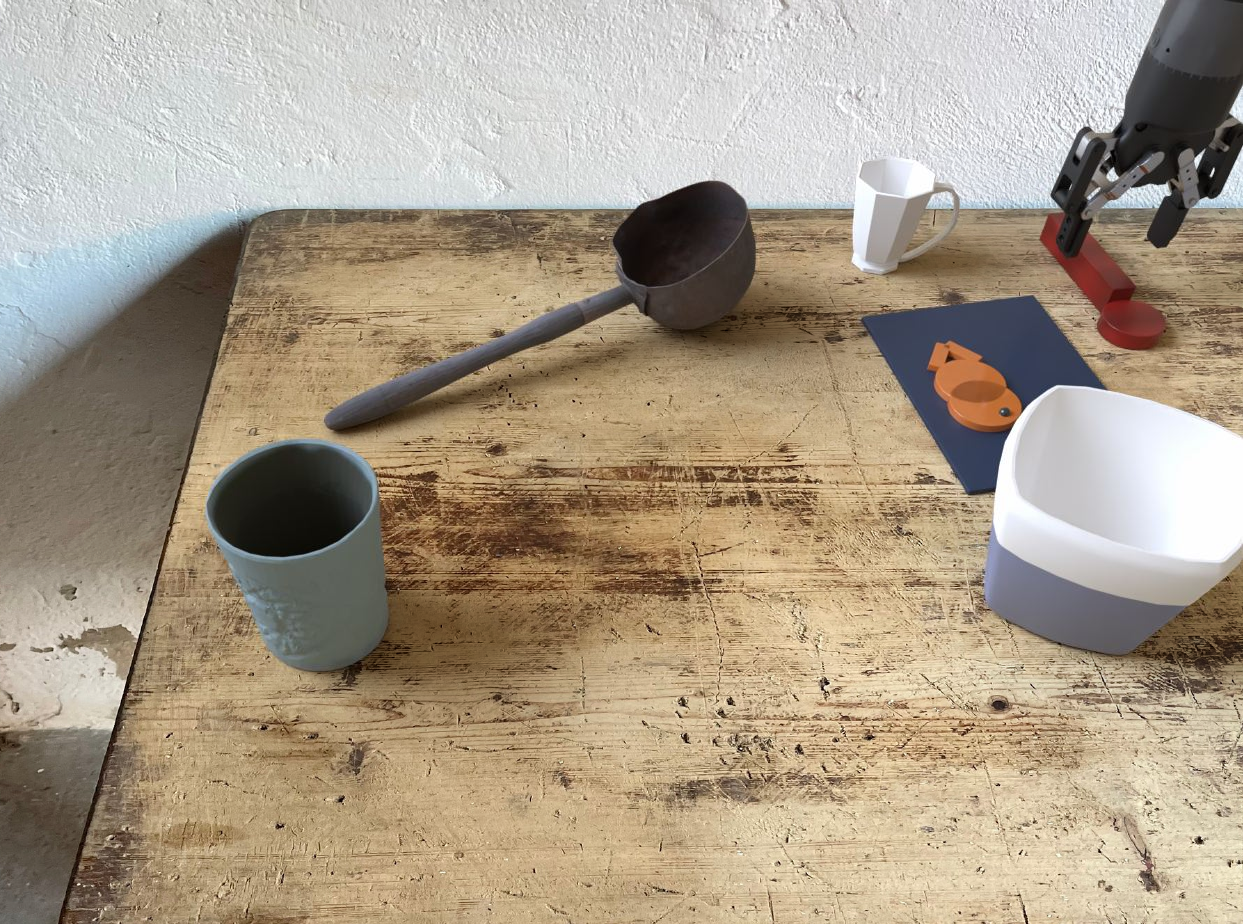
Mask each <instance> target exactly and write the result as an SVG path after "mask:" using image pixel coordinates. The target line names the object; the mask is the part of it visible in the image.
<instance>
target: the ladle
mask: <svg viewBox="0 0 1243 924" xmlns="http://www.w3.org/2000/svg"><path fill="white" fill-rule="evenodd" d="M754 234H755V233H754V229H753V224H752V220H751V216H750V212H749V207H748V205H747V201H746V199H745V197H743V196H742V195H741V194H740V193H739V192H738V191H737V190H736V189H735V188H734V187H732V186H731V185H730V184H729V183H727V182H725V181H722V180H703V181H697V182H695V183H691V184H689V185H686V186H684V187H681V188H678V189H675V190H673V191H670V192H668V193H666V194H664V195H662V196H659V197H658V198H654V199H650V200H647V201H643V202H642V203H640V204H638V205H637V207H635V209H634V210H633V211H632V212H631V213H630V214H629V215H628V216H627V217H626V218H625V219H624V220H623V222H622V223H621V224H620V225H619V226H618V227H617V229H616V231H615V232H614V233H613V236H612V239H611V245H612V247H613V250H614V252H615V255H616V257H617V260H618V261H615V262H614V267H615V273H616V275H617V279H618V281H619V283H620V285H618V286H615V287H613V288H610V289H607V290H605V291H602V292H600V293H597V294H595V295H592V296H589V297H587V298H584V299H581V300H579V301H574V302H571V303H568V304H566V305H564V306H561V307H559V308H556V309H554V310H551V311H549V312H547V313H544V314H541V315H539V316H538V317H536V318H533V320H531V321H529V322H527V323H526V324H523V325H522V326H520V327H518V328H516V329H514V330H512V331H510V332H509V333H506V334H504V335H502V336H500V337H498V338H495V339H493V340H491V341H487V342H486V343H484V344H483V343H482V344H481V345H478V346H476V347H473V348H471V349H468V350H466V351H463V352H461V353H458V354H455V355H453V356H451V357H447V358H445V359H443V360H440V361H437V362H435V363H432V364H430V365H427V366H425V367H421V368H418V369H416V370H414V371H411V372H409V373H406V374H403V375H400V376H398V377H395V378H393V379H390V380H388V381H386V382H384V383H381V384H379V385H377V386H374V387H371V388H369V389H367V390H365V391H363V392H361V393H359V394H357V395H355V396H353V397H351V398H349V399H347V400H345V401H344V402H342V403H340V404H339V405H336V407H334V408H333V409H331V410H329V412H327V414H326V415H325V416H324V418H323V423H324V425H325V427H326V428H327V429H328V430H331V431H338V430H343V429H347V428H350V427H351V428H352V427H355V426H358V425H362V424H364V423H367V422H371V421H374V420H377V419H380V418H382V417H385V416H386V415H389V414H391V413H393V412H396V411H398V410H400V409H403V408H405V407H406V406H409V405H411V404H413V403H415V402H417V401H419V400H421V399H423V398H426V397H427V396H429V395H431V394H434V393H435V392H437V391H439V390H441V389H443V388H445V387H448V386H449V385H451V384H453V383H455V382H457V381H459V380H461V379H464V378H465V377H467V376H469V375H471V374H474V373H476V372H477V371H479V370H481V369H484V368H486V367H488V366H490V365H493V364H494V363H497V362H499V361H501V360H503V359H506V358H508V357H510V356H513V355H515V354H517V353H519V352H523V351H525V350H529V349H531V348H533V347H537V346H540V345H543V344H546V343H549V342H553V341H554V340H557V339H559V338H561V337H563V336H565V335H568V334H569V333H572V332H574V331H576V330H578V329H580V328H582V327H583V326H584V327H585V326H586V325H589V324H590V323H592V322H594V321H597V320H598V319H600V318H603V317H605V316H607V315H609V314H612V313H614V312H616V311H619V310H620V309H621V310H622V309H623V308H625V307H628V306H630V305H633V304H634V305H635V307H636V308H637V310H638V312H639V313H640V314H642V315H643V316H645V317H648V318H649V319H651V320H652V321H654V322H656V323H658V324H659V325H661V326H664V327H666V328H668V329H669V328H670V329H675V330H696V329H699V328H703V327H705V326H708V325H710V324H713V323H716V322H718V321H720V319H722V318H724V317H725V316H726V315H728V314H729V313H730V312H732V310H734V309H735V307H736V306H737V305H738V304H739V303H741V300H742V299H743V298H744V296H745V295H746V294H747V292H748V290H749V288H750V287H751V285H752V282H753V280H754V275H755V271H756V265H757V264H756V263H757V247H756V246H757V243H756V238H755V235H754Z"/></svg>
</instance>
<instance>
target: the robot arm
mask: <svg viewBox="0 0 1243 924" xmlns="http://www.w3.org/2000/svg"><path fill="white" fill-rule="evenodd" d="M1144 48H1145V49H1144V50H1143V53H1142V55H1141V57H1140V60H1139V63H1138V65H1137V67H1136V70H1135V72H1134V74H1133V77H1132V80H1131V81H1130V84H1129V87H1128V88H1127V91H1126V94H1125V96H1124V97H1125V98H1124V109H1123V115H1122V118H1121V119H1120V121H1119V122H1118V124H1117V125H1116V126H1115V127H1114V129H1112V131H1111V132H1096V131H1094V130H1093V128H1091V127H1090V126H1088V125H1086V126H1084V127H1082V128H1080V129H1079V130H1078V132H1077V134H1076V135H1075V138H1074V140H1073V142H1072V145H1071V146H1070V149H1069V151H1068V153H1067V156H1066V158H1065V159H1064V162H1063V165H1062V167H1061V169H1060V171H1059V174H1058V176H1057V178H1056V180H1055V182H1054V185H1053V187H1052V189H1051V191H1050V198H1051V199H1052V200H1053V202H1054V203H1055V204H1056V205H1057V206H1058V207H1059V208H1060V209H1061V211H1062V212H1065V213H1066V214H1065V217H1064V219H1063V221H1062V224H1061V226H1060V229H1059V232H1058V234H1057V236H1056V244H1057V245H1058V249H1059V250H1060V252H1061V253H1062V254H1063V255H1064V256H1065V257H1066V258H1067V259H1068V258H1076V257H1077V256H1078V254H1079V252H1080V249H1081V247H1082V245H1083V242H1084V240H1085V238H1086V235H1087V233H1088V232H1090V228H1091V226H1092V223H1093V221H1094V218H1093V217H1094V216H1095V215H1096V214H1097V213H1098V212H1099V211H1100V210H1102V208H1103V207H1104V206H1106V205H1107V204H1108V203H1109V202H1110V201H1116V200H1119V199H1120V198H1121V197H1122V196H1123V195H1125V193H1126V192H1127V191H1129V189H1136V188H1141V187H1145V186H1147V185H1154V186H1163V185H1164V186H1165V185H1167V187H1168V190H1169V191H1168V192H1170V194H1169V195H1165V196H1163V199H1162V200H1161V202H1160V205H1159V207H1158V209H1157V211H1156V213H1155V215H1154V217H1153V219H1152V221H1151V223H1150V225H1149V228H1148V230H1147V232H1146V239H1147V240H1148V242H1150V244H1151V245H1152V246H1153V247H1155V249H1164V248H1165V249H1166V248H1167V247H1168V246H1169V244H1170V242H1171V241H1173V240H1174V238H1175V237H1176V236H1177V234H1178V232H1179V231H1180V229H1181V227H1182V224H1183V223H1184V221H1185V218H1186V216H1187V214H1188V212H1189V210H1190V209H1191V208H1194V207H1195V206H1196V205H1198V203H1199V202H1200V200H1203V199H1205V198H1208V200H1215V199H1216V198H1218V197H1219V196H1220V195H1221V194H1222V192H1223V190H1224V187H1225V186H1226V183H1227V182H1228V179H1229V177H1230V175H1231V173H1232V170H1233V168H1234V166H1235V164H1236V162H1237V160H1238V157H1239V155H1240V154H1241V151H1242V149H1243V122H1241V121H1240V119H1238V118H1237V117H1236V116H1234V115H1233V114H1231V113H1230V112H1231V110H1232V108H1233V106H1234V104H1235V102H1236V100H1237V99H1238V97H1239V94H1240V92H1241V90H1242V89H1243V0H1165V2H1164V3H1163V5H1162V7H1161V10H1160V12H1159V15H1158V17H1157V19H1156V21H1155V24H1154V26H1153V29H1152V31H1151V34H1150V36H1149V39H1148V41H1147V44H1146V46H1145V47H1144ZM1201 153H1203V154H1202V156H1201V158H1200V160H1199V162H1198V164H1197V167H1196V162H1195V160H1196V158H1198V156H1199V155H1200V154H1201ZM1112 169H1113V170H1114V173H1115V175H1116V176H1117V179H1115V180H1112V181H1111V180H1110V179H1108V174H1109V172H1111V170H1112ZM1211 174H1212V175H1211ZM1097 189H1099V190H1098V191H1097V192H1096V193H1095V194H1094V195H1093V196H1092V197H1091V198H1090V199H1089V197H1090V196H1091V195H1092V194H1093V193H1094V192H1095V191H1096V190H1097Z"/></svg>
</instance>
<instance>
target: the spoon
mask: <svg viewBox="0 0 1243 924" xmlns="http://www.w3.org/2000/svg"><path fill="white" fill-rule="evenodd" d="M1065 214H1066V213H1065V212H1064V211H1060V212H1053V213H1052V212H1051V213H1048V215H1047V218H1046V219H1045V223H1044V226H1043V228H1042V230H1041V233H1040V235H1039V241H1040V242H1041V243H1042V245H1043V246H1044V247H1045V248H1046V249H1047V251H1048V252H1049V253H1050V254H1051V255H1052V257H1053V258H1054V259H1055V260H1056V262H1057V263H1058V264H1059V265H1060V266H1061V267H1062V268H1063V270H1064V271H1065V273H1066V274H1067V275H1068V276H1069V278H1070V279H1071V280H1072V281H1073V282H1074V284H1075V285H1076V286H1077V287H1078V288H1079V289H1080V290H1081V292H1082V293H1083V294H1084V295H1085V297H1086V298H1087V299H1088V300H1089V301H1090V302H1091V304H1092V305H1093V306H1094V308H1095V309H1096V310H1097V311H1098V312H1099V313H1100V315H1099V316H1098V320H1097V322H1096V329H1097V332H1098V333H1099V335H1100V336H1101V337H1102V338H1103V339H1104V340H1105V341H1107V342H1108V343H1110V344H1113V345H1114V346H1116V347H1119V348H1122V349H1127V350H1135V351H1141V350H1148V349H1150V348H1153V347H1154V346H1156V345H1157V344H1158V343H1159V342H1160V339H1161V337H1162V336H1163V334H1164V331H1165V330H1166V327H1167V320H1166V317H1165V316H1164V314H1163V313H1162V312H1161V311H1160V310H1158V309H1157V308H1156V307H1154V306H1152V305H1150V304H1148V303H1146V302H1143V301H1139V300H1136V299H1132V297H1133V295H1134V293H1135V291H1136V289H1137V285H1136V284H1135V283H1134V281H1132V279H1131V278H1130V277H1129V276H1128V275H1127V274H1126V272H1125V271H1124V270H1123V269H1122V268H1121V267H1120V266H1119V265H1118V264H1117V262H1116V260H1114V259H1113V257H1112V256H1111V255H1109V253H1108V251H1106V250H1105V249H1104V248H1103V247H1102V245H1101V244H1100V243H1099V242H1098V240H1097V239H1095V237H1094V236H1093V235H1092V234H1091V233H1090V231H1088V233H1087V235H1086V238H1085V240H1084V242H1083V245H1082V247H1081V249H1080V252H1079V254H1078V256H1077V257H1076V258H1068V259H1067V258H1066V257H1065V256H1064V255H1063V254H1062V253H1061V252H1060V250H1059V249H1058V245H1057V244H1056V236H1057V234H1058V232H1059V229H1060V226H1061V224H1062V221H1063V219H1064V217H1065Z"/></svg>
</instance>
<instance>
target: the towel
mask: <svg viewBox="0 0 1243 924" xmlns="http://www.w3.org/2000/svg"><path fill="white" fill-rule="evenodd" d="M860 321H861V323H862V324H863V326H864V327H865V329H866V331H867V332H868V334H869V336H870V338H871V339H872V340H873V342H874V344H875V346H876V347H877V348H878V351H879V352H880V354H881V356H882V357H883V358H884V360H885V362H886V363H887V366H888V367H889V368H890V370H891V372H892V373H893V375H894V376H895V378H896V380H897V381H898V383H899V384H900V386H901V388H902V389H903V391H904V393H905V394H906V396H907V398H908V399H909V401H910V403H911V404H912V406H913V407H914V409H915V411H916V413H917V414H918V415H919V417H920V419H921V421H922V423H923V424H924V425H925V428H926V429H927V430H928V432H929V434H930V435H931V437H932V438H933V440H934V442H935V443H936V445H937V447H938V449H939V450H940V451H941V454H942V455H943V457H944V458H945V460H946V461H947V463H948V465H949V467H950V468H951V469H952V471H953V474H954V475H955V476H956V478H957V480H958V481H959V483H960V484H961V486H962V487H963V489H964V491H965V492H966V494H967V496H970V495H976V494H977V495H978V494H984V493H989V492H996V486H997V479H998V472H999V465H1000V461H1001V457H1002V453H1003V449H1004V445H1005V442H1006V440H1007V438H1008V436H1009V434H1010V432H1011V430H1012V428H1013V427H1011V428H1010V429H1007V430H1005V431H1001V432H981V431H976V430H973V429H970V428H968V427H966V426H964V425H962V424H960V423H959V422H958V421H956V420H955V419H954V418H953V417H952V415H951V414H950V412H949V410H948V406H947V402H946V401H945V400H944V399H942V398H941V397H940V396H939V395H938V393H937V392H936V390H935V387H934V378H935V375H936V372H935V371H931V370H927V368H928V365H929V362H930V359H931V357H932V354H933V351H934V348H935V346H936V343H937V342H938V343H942V344H946V343H947V342H949V341H952V342H954V343H956V344H958V345H960V346H962V347H964V348H966V349H968V350H970V351H972V352H974V353H976V354H978V355H980V356H982V357H983V358H982V361H981V362H982V363H984V364H987V365H989V366H991V367H993V368H994V369H996V370H997V371H998V372H999V373H1000V374H1001V375H1002V376H1003V378H1004V379H1005V382H1006V388H1007V389H1009V390H1010V391H1012V392H1013V393H1014V394H1015V395H1016V396H1017V397H1018V399H1019V400H1020V403H1021V407H1022V411H1021V414H1022V413H1023V412H1024V410H1025V409H1026V408H1027V406H1028V405H1029V404H1030V403H1032V402H1033V401H1034V400H1035V399H1037V398H1038V397H1039V396H1041V395H1042V394H1043V393H1045V392H1046V391H1047V390H1049V389H1051V388H1053V387H1055V386H1057V385H1064V386H1082V387H1091V388H1096V389H1101V390H1107V391H1109V390H1108V389H1107V388H1106V386H1105V385H1104V384H1103V382H1101V381H1102V380H1101V379H1099V377H1098V375H1096V374H1095V372H1094V371H1093V370H1092V368H1091V367H1090V366H1089V364H1088V363H1087V362H1086V361H1085V359H1084V358H1083V357H1082V355H1081V354H1080V353H1079V352H1078V350H1077V349H1076V348H1075V346H1074V345H1073V344H1072V343H1071V341H1070V340H1069V339H1068V338H1067V336H1066V335H1065V334H1064V333H1063V330H1062V329H1060V327H1059V326H1058V324H1056V322H1055V321H1054V320H1053V318H1052V317H1051V316H1050V315H1049V313H1048V312H1047V311H1046V309H1045V308H1044V307H1043V306H1042V304H1041V303H1040V302H1039V300H1037V298H1036V297H1035V295H1034V294H1029V295H1022V296H1013V297H1006V298H997V299H990V300H989V299H988V300H983V301H982V300H981V301H974V302H973V301H972V302H967V303H958V304H951V305H949V304H948V305H942V306H934V307H926V308H919V309H910V310H903V311H894V312H885V313H878V314H871V315H863V316H861V319H860ZM954 360H955V359H953V358H951V357H949V356H947V359H946V362H945V363H947V362H950V361H954ZM1021 414H1020V415H1021Z"/></svg>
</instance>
